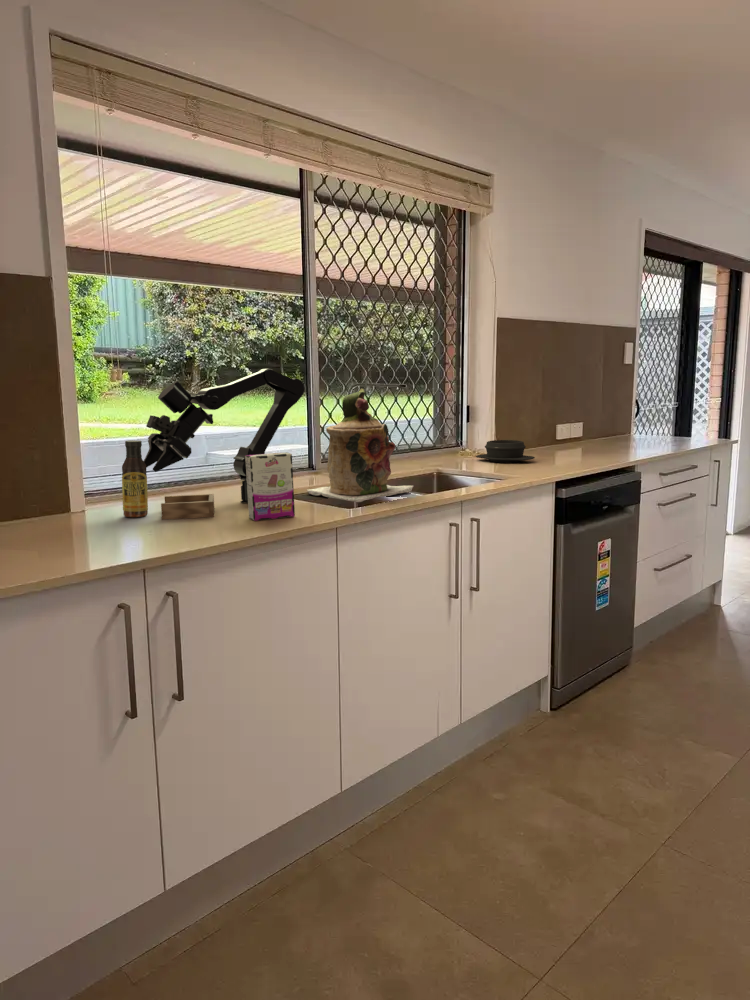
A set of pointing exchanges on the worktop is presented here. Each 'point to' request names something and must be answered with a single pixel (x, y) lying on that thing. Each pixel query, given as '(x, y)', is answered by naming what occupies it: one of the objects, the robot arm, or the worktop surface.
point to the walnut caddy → (188, 506)
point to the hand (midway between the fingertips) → (148, 469)
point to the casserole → (505, 451)
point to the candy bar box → (270, 486)
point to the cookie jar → (358, 455)
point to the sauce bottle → (134, 481)
